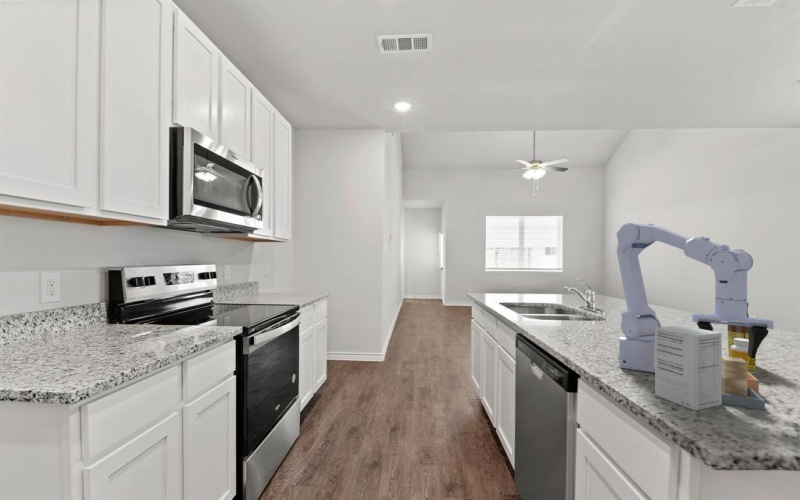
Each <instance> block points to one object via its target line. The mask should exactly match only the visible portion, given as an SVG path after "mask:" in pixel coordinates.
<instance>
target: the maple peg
mask: <svg viewBox="0 0 800 500" xmlns="http://www.w3.org/2000/svg"><path fill="white" fill-rule="evenodd" d="M721 364H722V393H724V394H730V395H736V396H743V397H747V362H746V361H745V360H743V359H742V358H735V357H729V356H727V355H726V356H725V355H722V363H721Z"/></svg>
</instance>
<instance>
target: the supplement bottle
mask: <svg viewBox="0 0 800 500" xmlns="http://www.w3.org/2000/svg"><path fill="white" fill-rule="evenodd" d="M734 344H735V345H732V346H731V357H735V358H742V359H743V360H745V361H746V362H747V371H748V372H749V373H750V374H752V375H755V374H756V370H757V369H756V367H757V365H756V364H757V363H756V360H757V359H756V357H757V356H755V358H750V357H749V356H748V346H749V340H748V339H742V338H734Z"/></svg>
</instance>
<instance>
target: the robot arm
mask: <svg viewBox="0 0 800 500" xmlns="http://www.w3.org/2000/svg"><path fill="white" fill-rule="evenodd" d="M616 236H617V248H616V257H617V261H618V267H619V271H620V276H621V281H622V282H621V283H622V287H623V294H624V298H625V303H626V308H625V309H624V310H623V311H622V312H621V314H620V315H621V323H620V329H621V332H622V333H623V334H624V336H618V338H619V339H618V342H619V343H618V346H619V347H618V354H617V360H618V362H619V363H618V364H619V368H621V369H626V370H627V369H628V370H634V371H642V372H649V373H654V374H655V328H659V327H662V324H661V322H660V320H659V319H658V317H657V314H656V311H655V310H654V309H653V308H651V307H650V306H649V304H648V298H647V294H646V288H645V283H644V279H643V274H642V269H641V263H640V259H639V255H640V254H641V253H642V252H643V251H644V250H645V249H647V248H648V247H650V246H651V245H653V244H655V242H660V243H663V244H665V245H669V246H672V247H675V248H677V249H679V250H680V249H681V250H683V253H684V255H685V256H686V257H688V258H690V259H692V260H695V261H696V262H699V263H701V264H704V265H707V266H709V267H710V268H711V270H712V271H713V272H714V273H713V274H714V279H715V283H714V285H715V286H714V288H715V290H714V291H715V292H714V294H715V295H714V314H705V313H691V321H692V322H693V323H696V325H697V327H698V329H704V330H709V331H714V327H713V325H712V324H714V325H716V324H717V325H725V326H728V325H737V326H748V327H747V328H748V337H749V346H748V356H749V357H750V358H755V356H756V355H757V352H758V350H759V347H760V346H761V344H762V342H763V341H764V340H765V339H766V337H767V336H768V335H769V330H774V320H772V319H768V318H767V319H766V318H758V317H747V302H748V272H749V271H750V270H751V269H752V267H753V265H754V258H753V257H752V255H751V254H750V253H748V252H746V251H745V250H744V249H739V248H738V249H730V246H729V245H728V244H718V243H716V242H714V241H710V237H707V236H696V237H692V238H690V237H687V236H684V235H682V234H680V233H677V232H674V231H672V230H670V229H667V228H666V227H663V226H661V225H655V224H652V223H633V222H626V223H624V224H622V225H621V226H620V228H619V229H618V231H617V232H616ZM729 322H736V323H729ZM741 323H743V324H741ZM756 357H757V356H756Z"/></svg>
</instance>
